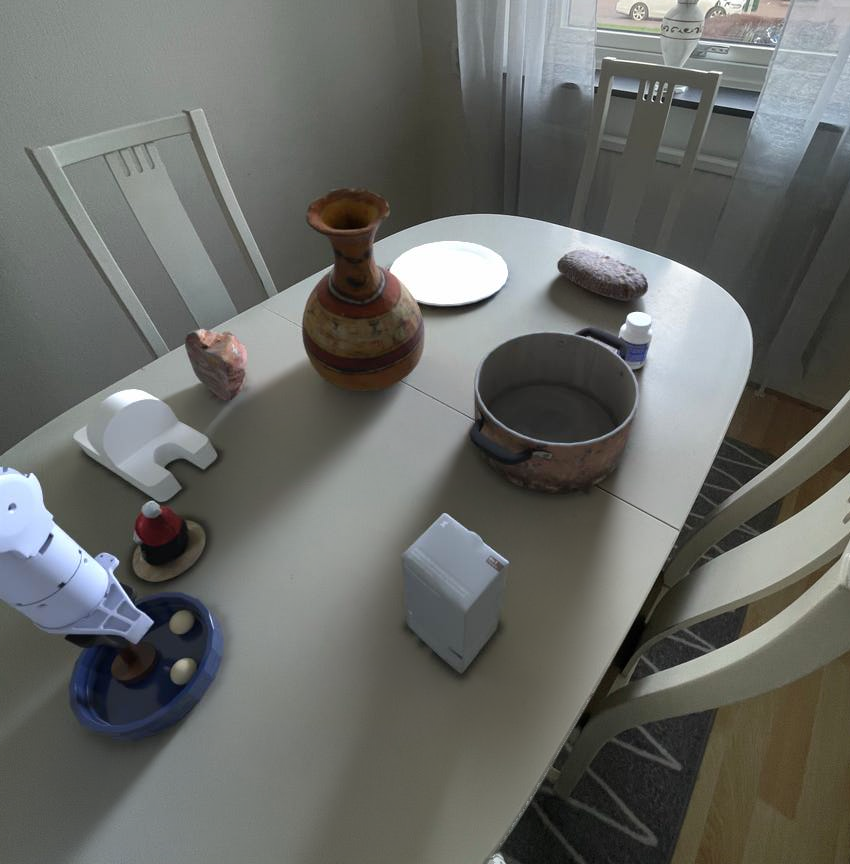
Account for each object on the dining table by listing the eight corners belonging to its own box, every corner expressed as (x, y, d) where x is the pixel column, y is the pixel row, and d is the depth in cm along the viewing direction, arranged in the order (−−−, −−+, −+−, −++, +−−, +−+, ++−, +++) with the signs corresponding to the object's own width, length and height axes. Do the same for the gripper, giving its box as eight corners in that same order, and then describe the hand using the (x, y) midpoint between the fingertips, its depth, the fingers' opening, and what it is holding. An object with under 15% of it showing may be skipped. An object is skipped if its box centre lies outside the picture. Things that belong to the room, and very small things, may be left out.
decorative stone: (660, 284, 107) (666, 262, 103) (630, 317, 99) (636, 295, 95) (577, 255, 115) (580, 234, 112) (543, 283, 107) (545, 262, 104)
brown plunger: (132, 692, 52) (97, 640, 47) (105, 674, 53) (68, 621, 48) (166, 656, 55) (138, 604, 50) (140, 640, 56) (110, 587, 51)
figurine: (103, 515, 64) (157, 466, 60) (181, 537, 70) (236, 494, 66) (81, 579, 58) (140, 529, 54) (169, 596, 64) (227, 553, 60)
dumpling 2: (189, 691, 53) (179, 684, 51) (171, 682, 53) (160, 674, 52) (206, 667, 54) (197, 659, 53) (187, 659, 55) (178, 651, 53)
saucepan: (545, 352, 91) (550, 302, 84) (661, 412, 81) (680, 360, 74) (426, 456, 75) (420, 404, 68) (553, 547, 65) (563, 498, 57)
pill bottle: (647, 370, 88) (659, 329, 82) (616, 370, 88) (626, 329, 82) (640, 350, 92) (652, 309, 86) (611, 350, 92) (620, 309, 86)
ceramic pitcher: (326, 418, 80) (271, 243, 60) (302, 342, 94) (251, 178, 73) (444, 381, 86) (431, 211, 65) (406, 315, 99) (385, 156, 78)
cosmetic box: (406, 626, 58) (388, 559, 47) (449, 579, 62) (442, 506, 51) (464, 680, 54) (459, 619, 43) (505, 625, 58) (511, 557, 47)
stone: (192, 376, 87) (167, 329, 80) (237, 351, 92) (217, 305, 85) (233, 411, 81) (209, 364, 74) (278, 383, 86) (261, 336, 79)
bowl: (159, 765, 49) (142, 757, 46) (57, 709, 52) (36, 699, 50) (250, 629, 58) (239, 617, 55) (158, 589, 61) (144, 575, 59)
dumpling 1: (193, 611, 56) (203, 618, 58) (176, 603, 57) (186, 610, 59) (177, 633, 55) (188, 640, 56) (160, 625, 55) (171, 632, 57)
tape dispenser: (162, 504, 69) (124, 454, 62) (83, 451, 76) (39, 400, 68) (220, 455, 75) (191, 404, 68) (142, 410, 82) (107, 358, 74)
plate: (455, 234, 122) (454, 229, 121) (532, 277, 109) (532, 271, 108) (365, 273, 110) (365, 268, 109) (440, 326, 97) (440, 321, 96)
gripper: (149, 557, 43) (209, 622, 52) (25, 504, 47) (102, 573, 56) (74, 641, 38) (155, 695, 48) (-58, 574, 42) (42, 637, 51)
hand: (122, 634), depth 52 cm, fingers closed on brown plunger
